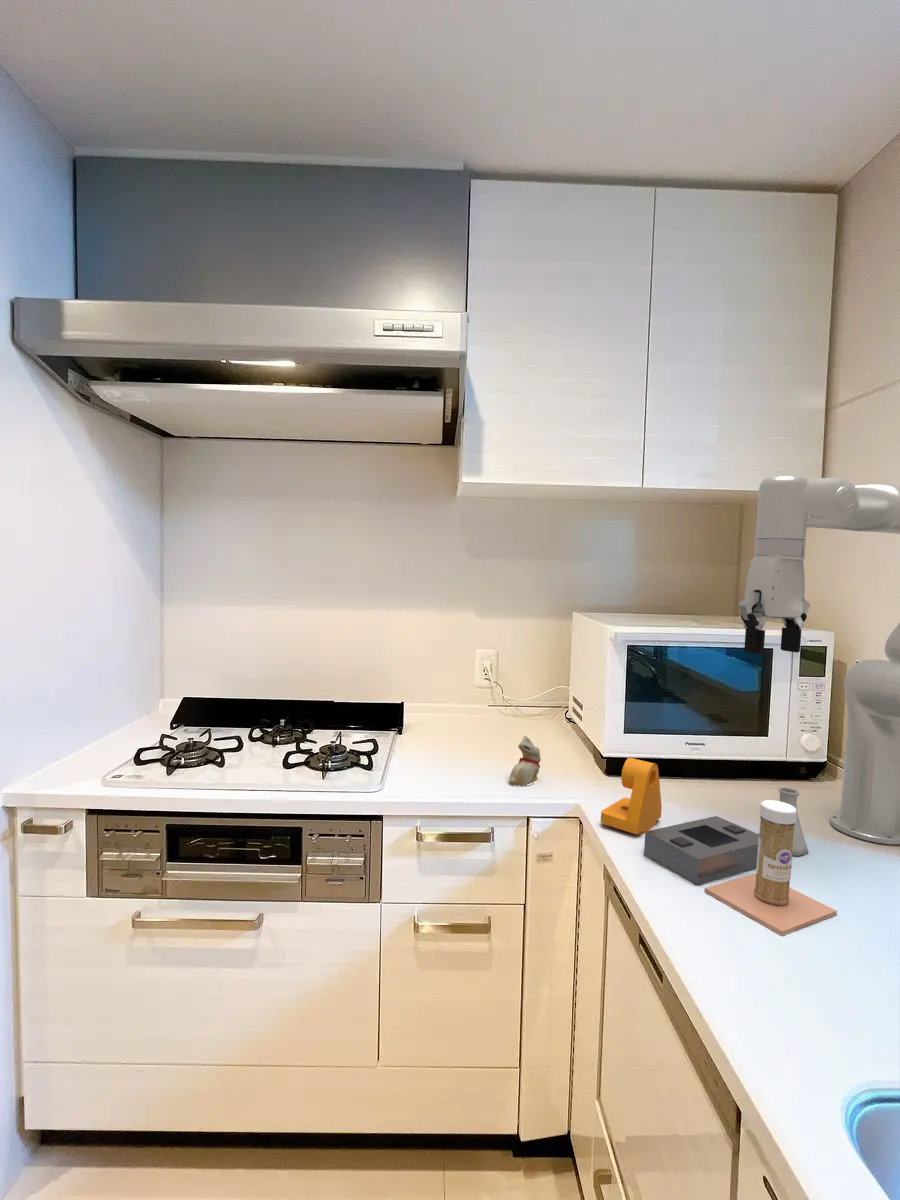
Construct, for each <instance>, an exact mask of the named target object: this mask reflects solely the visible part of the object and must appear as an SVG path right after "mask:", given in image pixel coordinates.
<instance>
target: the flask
mask: <svg viewBox="0 0 900 1200" xmlns="http://www.w3.org/2000/svg"><path fill="white" fill-rule="evenodd" d="M777 791H778V792H779V800H778V801H780V802H784V803H787V804H790V805H792V806H793V807H795V808H796V810H797V816H796V823H795V825H794V835H793V850H792V856H796V857H800V856H803V855H806V854H808V853H809V849H808V846H807V842H806V839H805V836H804V833H803V829H802V825H801V822H800V818H799V813H798V812H799V811H798V796H800V791H799V789H796V788H793V787H788V786H787V787H786V786H780V787H778V790H777Z"/></svg>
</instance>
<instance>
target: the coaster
mask: <svg viewBox="0 0 900 1200" xmlns="http://www.w3.org/2000/svg"><path fill="white" fill-rule="evenodd" d="M755 884H756V872H754V873H750V874H747V875H744V876H740V877H738V878H737V877H736V878H734V879H731V880H728V881H724V882H720V883H717V884H714V885H710V886H707V887H704V894H707V895H709V896H711V897H713V898H715V899H717V901H720V902H722V903H723V904H725V905H727V906H728V907H730V908H731V909H734V910H735V911H737V912H739V913H741V914H743V915H744V916H746V917H747V918H749V917H750V918H749V919H751V918H752V920H753V921H755V922H756V921H757V922H756V923H758V924H760V925H762V926H764V927H765V928H767V929H769V930H771V931H773V932H774V933H776V934H778V935H780V936H781V937H783V936H785V935H787V934H790V933H793V932H795V931H798V930H800V929H803V928H806V927H809V926H811V925H814V924H817V923H820V922H822V921H824V920H827V919H829V918H833V917H836V916H837V915H838V914H837V913H838V910H836V909H834V908H833V907H830V906H829V905H827V904H824V903H822V902H820V901H818V900H816V899H814V898H812V897H810V896H808V895H805V894H804V893H802V892H800V891H798V890H796V889H793V888H792V887H790V886H789V902H788V903H787V904H785V905H774V904H770V903H767V902H764V901H762V900H760V899H759V898H757V897H756V895H755V894H754V889H755Z"/></svg>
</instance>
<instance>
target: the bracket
mask: <svg viewBox="0 0 900 1200" xmlns="http://www.w3.org/2000/svg"><path fill="white" fill-rule="evenodd" d="M659 773H660V771H659V767H658V764H657V763H655V762H650V761H645V760H641V759H637V758H634V757H627V759H626V760H625V762H624V764H623V766H622V769H621V785H622V787H624V788H626V789H630V790H631V795H630V798H629V797H622V798H621V799H619V800H618V801H616V802H614V803H611V804H610V805H609V806H607V807H605V808H604V809H602V810H601V811H600V823H601V824H603V825H605V826H608V827H611V828H615V829H618V830H621V831H625V832H628V833H631V834H634V835H645V831H650V830H652V828H654V827H655V826H656V824H657V823H656V822H657V821H658V820H659V819H661V818H662V808H663V807H662V797H661V785H660V776H659V775H660V774H659Z"/></svg>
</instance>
